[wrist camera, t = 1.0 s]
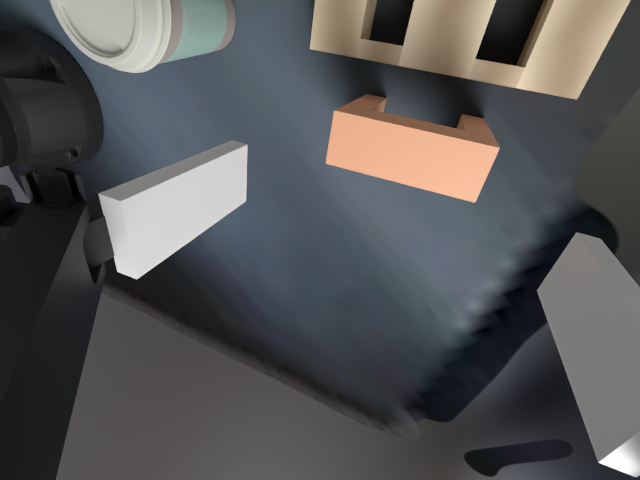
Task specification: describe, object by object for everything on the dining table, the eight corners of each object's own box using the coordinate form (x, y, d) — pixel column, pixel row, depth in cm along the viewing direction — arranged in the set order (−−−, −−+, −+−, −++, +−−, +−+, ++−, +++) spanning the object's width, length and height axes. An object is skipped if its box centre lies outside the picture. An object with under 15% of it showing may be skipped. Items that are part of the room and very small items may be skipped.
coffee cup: (153, -9, 30) (13, -38, 21) (217, -71, 26) (80, -144, 17) (202, 83, 33) (98, 96, 23) (266, 39, 29) (173, 33, 19)
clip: (358, 133, 31) (325, 163, 22) (366, 93, 29) (334, 110, 20) (467, 159, 28) (475, 202, 20) (484, 118, 27) (499, 147, 18)
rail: (323, 49, 28) (309, 49, 25) (340, -76, 24) (325, -94, 21) (561, 93, 24) (577, 99, 21) (633, -46, 20) (664, -62, 17)
